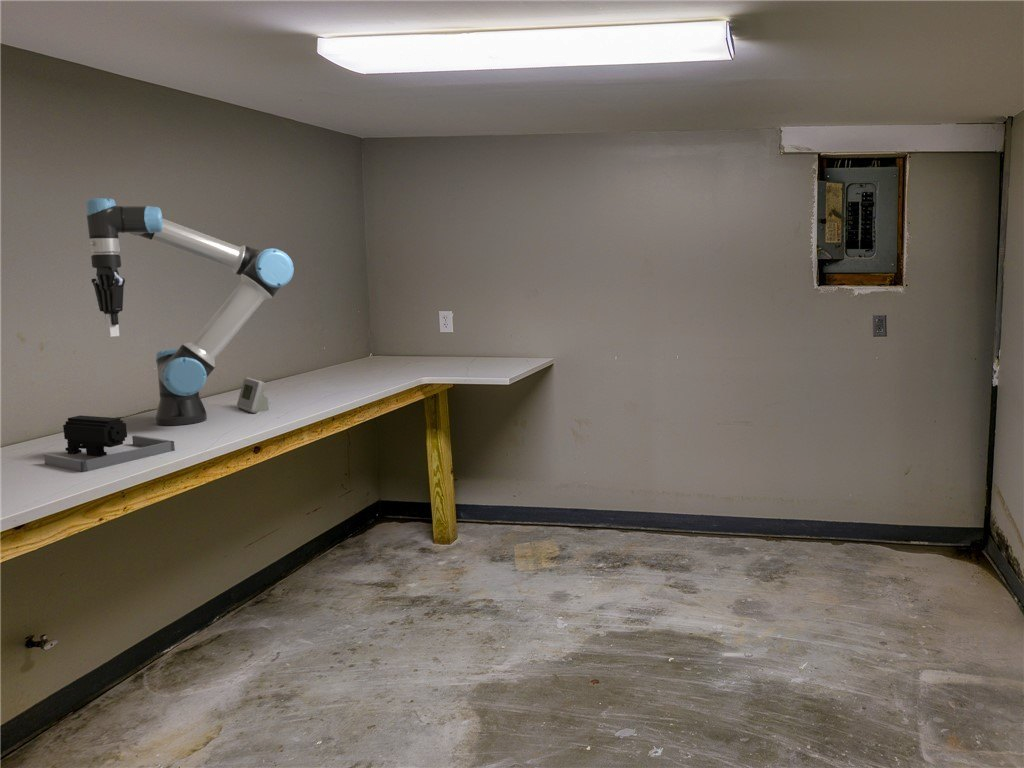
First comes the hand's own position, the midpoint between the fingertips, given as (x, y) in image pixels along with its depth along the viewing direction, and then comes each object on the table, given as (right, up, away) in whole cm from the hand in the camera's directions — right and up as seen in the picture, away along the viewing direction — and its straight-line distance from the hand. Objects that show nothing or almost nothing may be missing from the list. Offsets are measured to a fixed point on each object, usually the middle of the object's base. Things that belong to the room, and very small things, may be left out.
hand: (113, 336), depth 234 cm
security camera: (+5, -33, -20) cm, 39 cm away
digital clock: (+27, -23, +41) cm, 54 cm away
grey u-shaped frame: (+11, -33, -23) cm, 41 cm away
